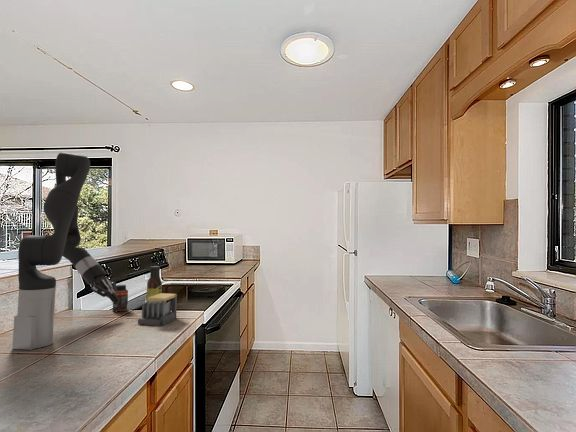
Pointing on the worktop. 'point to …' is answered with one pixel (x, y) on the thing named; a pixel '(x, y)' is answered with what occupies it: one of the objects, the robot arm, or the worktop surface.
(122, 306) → the supplement bottle
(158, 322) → the grey and yellow stand
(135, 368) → the worktop surface
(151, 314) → the heatsink block
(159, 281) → the sauce bottle
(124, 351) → the worktop surface
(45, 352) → the worktop surface
